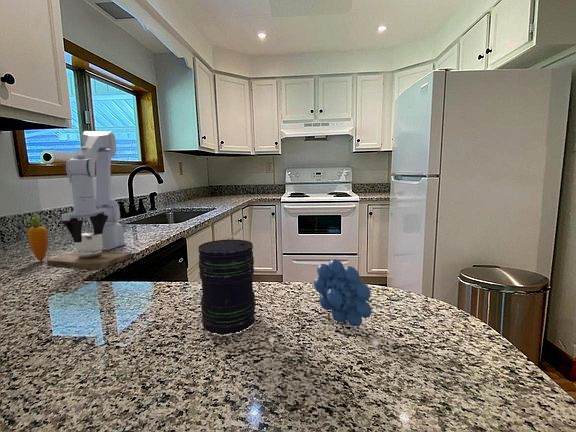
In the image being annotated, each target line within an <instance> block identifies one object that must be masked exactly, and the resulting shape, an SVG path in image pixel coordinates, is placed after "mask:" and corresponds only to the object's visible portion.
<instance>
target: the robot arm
mask: <svg viewBox="0 0 576 432" xmlns="http://www.w3.org/2000/svg"><path fill="white" fill-rule="evenodd" d="M81 135H82V137H81V138H82V144H83V146H81V147H79V148H78V150H77V151H76V154H75V155H74V157H72V158H70V159H68V160H66V161H65V162H66V163H65V171H66V174H67V176H68V181H69V183H70V185H71V193H72V194H71V195H72V202H73V203H72V204H73V209H74V210H73V211H71V212H67V213H62V214H60V215H61V222H62V224H63V225H64V226H65V228H66V229H67V230H68V232H69V233H70V235H71V237H72V240H73V242H74V243H75V242H78V243H80V242H82V230H83V229H82V227H83V222H84V220H79V219H83V218H86V219H87V221H88V223H89V224H90V225H92V228H93V233H97V234H102V241H103V249H102V251H109V250H111V249H115V248H119V247H121V246H125V245H127V242H125V232H124V230H125V229H124V227H123V225H122V224H121V223H120V220H121V211H120V205H119V204H118V202H117V201H115V200H114V199H112V197H111V196H112V195H111V193H112V191H111V189H112V184H111V178H112V177H111V175H112V173H111V163H112V158H113V157H115V156H116V153H117V141H116V140H117V139H116V135H115V133H114V132H113V131H95V130H94V131H93V130H92V131H90V130H89V131H88V130H84V131H83V132H82V134H81ZM95 175H96V176H95ZM95 177H96V178H95ZM94 178H95V179H96V180H95V185H96V187H95V186H94ZM95 188H96V189H95ZM95 190H96V191H95ZM95 192H96V193H95Z"/></svg>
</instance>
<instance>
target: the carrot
mask: <svg viewBox="0 0 576 432" xmlns="http://www.w3.org/2000/svg"><path fill="white" fill-rule="evenodd" d="M41 221H42V218H41V217H40V216H39V215H34V216H33V217H32V218H31V220H29V219H26V220H25V222H27V223H28V224H30V225H31V227H30V228H28V229H27V231H26V234H27V239H28V244H29V247H30V249H31V251H32V253H33V255H34V257H35V258H36V259H37V260H38V261H39V262H43V260H45V257H46V255H47V252H48V246H49V239H48V238H49V236H48V229H47V228H46V227H45V226H40V223H41Z"/></svg>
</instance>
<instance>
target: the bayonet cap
mask: <svg viewBox="0 0 576 432" xmlns="http://www.w3.org/2000/svg"><path fill="white" fill-rule="evenodd" d="M81 234H82V242H80V243H78V242H74V243H75V250H76V251H77V252H78V257H79V258H93V257H97V256H100V255H102V251H103V250H102V249H103V241H102V234H97V233H94V232H93V233H92V232H83V233H82V232H81Z"/></svg>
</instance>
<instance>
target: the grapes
mask: <svg viewBox="0 0 576 432" xmlns="http://www.w3.org/2000/svg"><path fill="white" fill-rule="evenodd" d="M316 269H317V270H316V272H317V275H318V277H316V278H315V279H314V280H313V287H314V289H315V291H317V293H318V294H320V296H319V298H318V299H319V300H318V301H319V304H320V306H321V308H323V310H325V311H331V315H332V319H334V321H335V322H336V321H337V322H336V323H338V322H345V323H346V322H347V323H349V325H351V326H352V325H353V326H352V327H354V326H357V327H360V326H361V325H362V323H363V319H367V318H370V317H371V316H372V311H373V310H372V307H371V304H370V303H369V302H368V301H369V300H370V298H371V295H372V293H371V290H370V287H369V286H368V285H367V284H366V283H364V282H361V281H360V279H361V278H360V273H359V271H358V270H357V269H356V268H355V267H353V266H351V265H350V266H346V267H344V265H343V262H341V261H340V260H339V259H336V258H334V259H331V260H330V261H329V262H328V264H326V263H320V264H318V267H317V268H316Z"/></svg>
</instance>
